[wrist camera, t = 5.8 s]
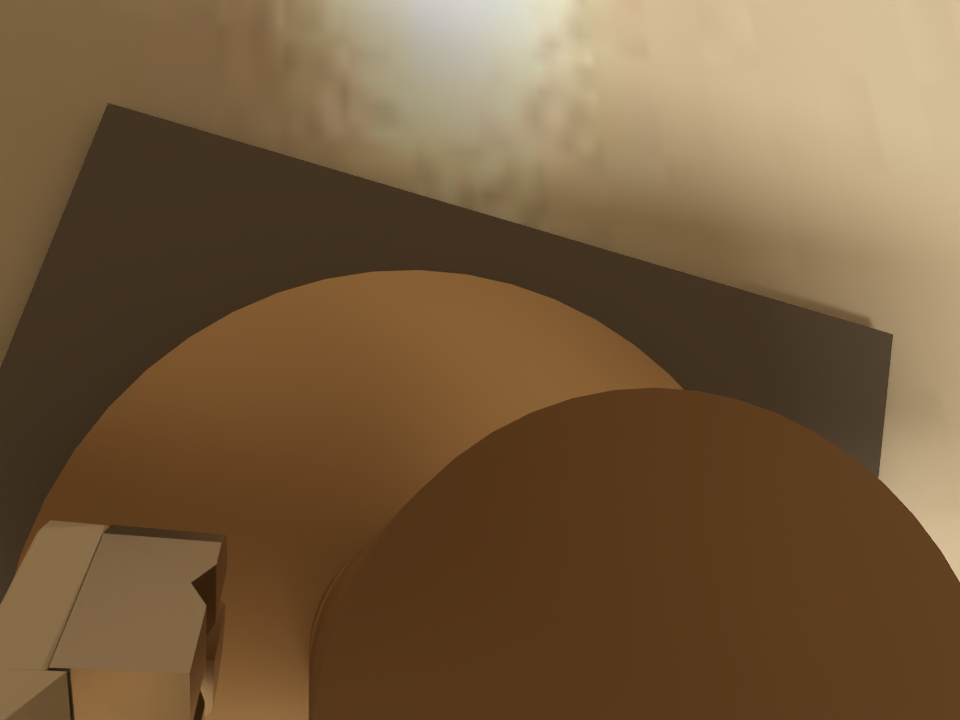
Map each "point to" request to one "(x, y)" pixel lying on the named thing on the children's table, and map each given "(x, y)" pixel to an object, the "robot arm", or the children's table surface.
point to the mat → (347, 251)
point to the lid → (513, 521)
